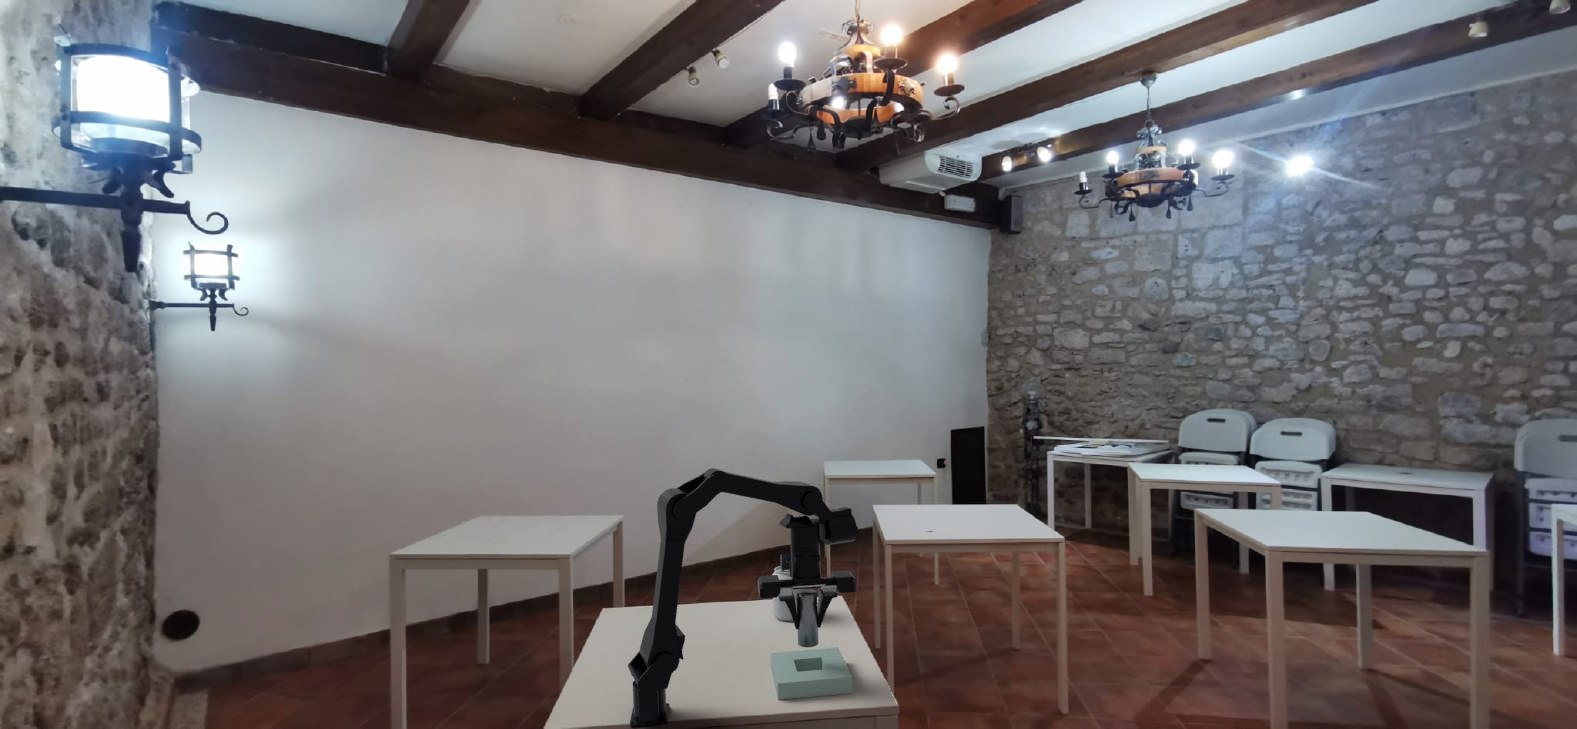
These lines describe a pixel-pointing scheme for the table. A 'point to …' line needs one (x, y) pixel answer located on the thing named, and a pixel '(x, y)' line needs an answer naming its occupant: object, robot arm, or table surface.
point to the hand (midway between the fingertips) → (807, 627)
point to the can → (780, 606)
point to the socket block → (810, 673)
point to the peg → (807, 617)
